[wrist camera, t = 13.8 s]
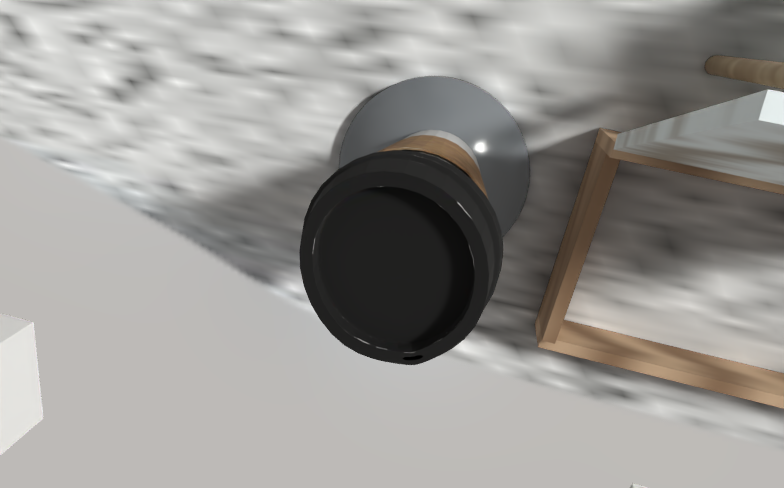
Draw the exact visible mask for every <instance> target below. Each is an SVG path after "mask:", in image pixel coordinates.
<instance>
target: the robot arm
mask: <svg viewBox="0 0 784 488" xmlns="http://www.w3.org/2000/svg"><path fill="white" fill-rule="evenodd" d="M42 419H43V409H42V399H41V389H40V380H39V371H38V361H37V351H36V342H35V332H34V322H32V321H28V320H24V319H21V318H16V317H13V316H9V315H6V314H1V315H0V455H1V454H2V453H4V452H5V451H6V450H7V449H8V448H9V447H11V446H12V445H13V444H14V443H15V442H16V441H18V440H19V439H20V438H21V437H22V436H23V435H24V434H26V433H27V432H28V431H29V430H30V429H31V428H33V427H34V426H35V425H36V424H37V423H38V422H40V421H41V420H42ZM630 488H648V487H644V486H640V485H636V484H632V485H631V487H630Z"/></svg>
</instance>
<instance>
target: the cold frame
mask: <svg viewBox="0 0 784 488" xmlns="http://www.w3.org/2000/svg"><path fill="white" fill-rule="evenodd" d="M705 70H706V72H707V73H709V74H712V75H717V76H722V77H727V78H732V79H737V80H742V81H747V82H752V83H757V84H762V85H766V86H771V87H776V88H781V89H784V63H783V62H774V61H765V60H756V59H747V58H738V57H729V56H719V55H715V56H712V57H710V58H709V59H708V60H707V61H706V63H705ZM620 160H624V161H629V162H633V163H638V164H643V165H647V166H652V167H657V168H662V169H666V170H671V171H676V172H680V173H685V174H690V175H694V176H699V177H704V178H708V179H713V180H718V181H722V182H727V183H732V184H736V185H741V186H746V187H750V188H755V189H760V190H765V191H769V192H774V193H779V194H783V195H784V92H779V91H774V90H769V89H767V90H764V91H761V92H757V93H754V94H750V95H747V96H744V97H740V98H737V99H734V100H730V101H727V102H724V103H720V104H717V105H713V106H710V107H707V108H703V109H700V110H697V111H693V112H690V113H686V114H683V115H680V116H676V117H673V118H670V119H666V120H663V121H660V122H656V123H653V124H649V125H646V126H643V127H639V128H636V129H633V130H629V131H626V132H623V133H622V132H617V131H612V130H607V129H603V128H599V131H598V135H597V138H596V141H595V144H594V147H593V150H592V153H591V156H590V159H589V162H588V165H587V168H586V171H585V174H584V177H583V180H582V183H581V186H580V189H579V192H578V195H577V198H576V201H575V204H574V207H573V210H572V213H571V216H570V219H569V222H568V225H567V228H566V231H565V234H564V237H563V240H562V243H561V246H560V249H559V252H558V255H557V258H556V261H555V264H554V267H553V270H552V273H551V276H550V279H549V282H548V286H547V289H546V292H545V295H544V298H543V301H542V304H541V307H540V310H539V313H538V316H537V319H536V322H535V328H536V336H537V343H538V347H540V348H544V349H548V350H552V351H556V352H560V353H564V354H568V355H572V356H576V357H580V358H584V359H588V360H592V361H596V362H600V363H604V364H608V365H612V366H616V367H620V368H624V369H628V370H632V371H636V372H640V373H644V374H648V375H652V376H656V377H660V378H664V379H668V380H672V381H676V382H680V383H683V384H687V385H691V386H695V387H699V388H703V389H707V390H711V391H715V392H719V393H723V394H727V395H731V396H735V397H739V398H743V399H747V400H751V401H755V402H759V403H763V404H767V405H771V406H775V407H779V408H783V409H784V374H783V373H779V372H775V371H771V370H767V369H763V368H759V367H754V366H750V365H746V364H742V363H738V362H734V361H730V360H726V359H722V358H718V357H714V356H709V355H705V354H701V353H697V352H693V351H689V350H685V349H681V348H677V347H673V346H668V345H664V344H660V343H656V342H652V341H648V340H644V339H640V338H636V337H632V336H628V335H623V334H619V333H615V332H611V331H607V330H603V329H599V328H595V327H591V326H587V325H582V324H578V323H574V322H570V321H566V320H564V317H565V315H566V312H567V309H568V306H569V303H570V300H571V298H572V295H573V292H574V289H575V286H576V284H577V281H578V278H579V275H580V272H581V269H582V267H583V264H584V261H585V258H586V255H587V252H588V250H589V247H590V244H591V241H592V238H593V236H594V233H595V230H596V227H597V224H598V221H599V219H600V216H601V213H602V210H603V207H604V205H605V202H606V199H607V196H608V193H609V190H610V188H611V185H612V182H613V179H614V176H615V174H616V171H617V168H618V165H619V162H620Z"/></svg>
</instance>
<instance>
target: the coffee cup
mask: <svg viewBox="0 0 784 488" xmlns="http://www.w3.org/2000/svg"><path fill="white" fill-rule="evenodd" d="M502 257H503V241H502V231H501V228H500V225H499V222H498V219H497V216H496V213H495V211H494V209H493V207H492V206H491V204H490V202H489V200H488V196H487V193H486V190H485V187H484V183H483V180H482V177H481V173H480V168H479V165H478V162H477V159H476V157H475V155H474V153H473V152H472V150H471V149H470V148H469V146H468V145H467V144H466V143H465V142H464V141H462V140H461V139H460V138H459V137H457V136H455V135H453V134H451V133H448V132H445V131H441V130H424V131H420V132H417V133H414V134H411V135H410V136H408V137H406V138H405V139H403V140H400V141H398V142H396V143H394V144H392V145H390V146H388V147H386V148H384V149H382V150H380V151H378V152H374V153H371V154H368V155H366V156H363V157H360V158H357V159H355V160H353V161H351V162H350V163H348V164H346V165H345V166H343V167H341V168H340V169H338V170H337V171H336V172H335V173H334V174H333V175H332V176H331V177H330V178H329V179H328V180H327V181H326V182H324V183H323V184H322V185H321V187H320V188H319V190H318V191H317V193H316V194H315V196H314V197H313V199H312V200H311V203H310V205H309V208H308V211H307V213H306V216H305V219H304V226H303V232H302V238H301V245H300V269H301V274H302V279H303V284H304V287H305V290H306V292H307V295H308V298H309V300H310V303H311V305H312V306H313V308H314V310H315V312H316V313H317V315H318V317H319V319H320V320H321V321H322V323H323V324H324V325H325V326H326V328H327V329H328V330H329V331H330V333H331V334H332V335H333V336H335V337H336V338H337V339H338V340H339V341H340V342H341V343H343V344H344V345H345V346H347V347H348V348H350V349H352V350H354V351H355V352H357V353H359V354H362V355H365V356H367V357H370V358H373V359H377V360H381V361H385V362H391V363H397V364H405V365H416V364H420V363H423V362H426V361H428V360H431V359H433V358H435V357H437V356H439V355H441V354H443V353H445V352H447V351H448V350H450V349H452V348H454V347H455V346H456V345H457V344H459V343H460V342H461V341H462V340H464V339H465V338H466V337H467V335H468V334H469V333H470V332H471V331H472V330H473V328H474V327H475V326H476V324H477V322H478V320H479V318H480V316H481V314H482V312H483V310H484V308H485V306H486V305H487V303H488V301H489V300H490V298H491V296H492V295H493V292H494V289H495V286H496V283H497V280H498V277H499V274H500V271H501V266H502Z"/></svg>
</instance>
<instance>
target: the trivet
mask: <svg viewBox="0 0 784 488" xmlns="http://www.w3.org/2000/svg"><path fill="white" fill-rule="evenodd" d="M424 130H441V131H445V132H448V133H451V134H453V135H455V136H457V137H459V138H460V139H461V140H462V141H464V142H465V143H466V144H467V145H468V146H469V148H470V149H471V150H472V152H473V153H474V155H475V157H476V159H477V162H478V165H479V168H480V173H481V177H482V180H483V183H484V187H485V190H486V193H487V196H488V200H489V202H490V204H491V206H492V207H493V209H494V211H495V213H496V216H497V219H498V222H499V225H500V228H501V231H502V237H503V236H504V235H505V234H506V233H507V232H508V230H509V229H510V228H511V226H512V225H513V224H514V222H515V221H516V219H517V217H518V215H519V214H520V212H521V210H522V207H523V205H524V202H525V199H526V196H527V191H528V187H529V177H530V167H529V157H528V152H527V147H526V144H525V141H524V138H523V135H522V133H521V131H520V129H519V127H518V125H517V123H516V121H515V120H514V118H513V117H512V116H511V114H510V113H509V111H508V110H507V109H506V108H505V107H504V106H503V105H502V104H501V103H500V102H499V101H498V100H497V99H496V98H494V97H493V96H492V95H491V94H489V93H488V92H486V91H485V90H483V89H481V88H480V87H478V86H476V85H473V84H471V83H469V82H466V81H463V80H459V79H456V78H451V77H444V76H424V77H417V78H412V79H409V80H405V81H402V82H400V83H397V84H395V85H393V86H390V87H389V88H387V89H385V90H384V91H382V92H380V93H379V94H377V95H376V96H375V97H374V98H372V99H371V100H370V101H369V102H368V103H367V104H366V105H365V106H364V107H363V108H362V109H361V110H360V111H359V113H358V114H357V115H356V117H355V118H354V120H353V121H352V123H351V125H350V127H349V129H348V131H347V133H346V135H345V138H344V141H343V144H342V149H341V153H340V162H339V169H340V168H341V167H343V166H345V165H346V164H348V163H350V162H351V161H353V160H355V159H357V158H360V157H363V156H366V155H368V154H371V153H374V152H378V151H380V150H382V149H384V148H386V147H388V146H390V145H392V144H394V143H396V142H398V141H400V140H403V139H405V138H406V137H408V136H410V135H411V134H414V133H417V132H420V131H424Z"/></svg>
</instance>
